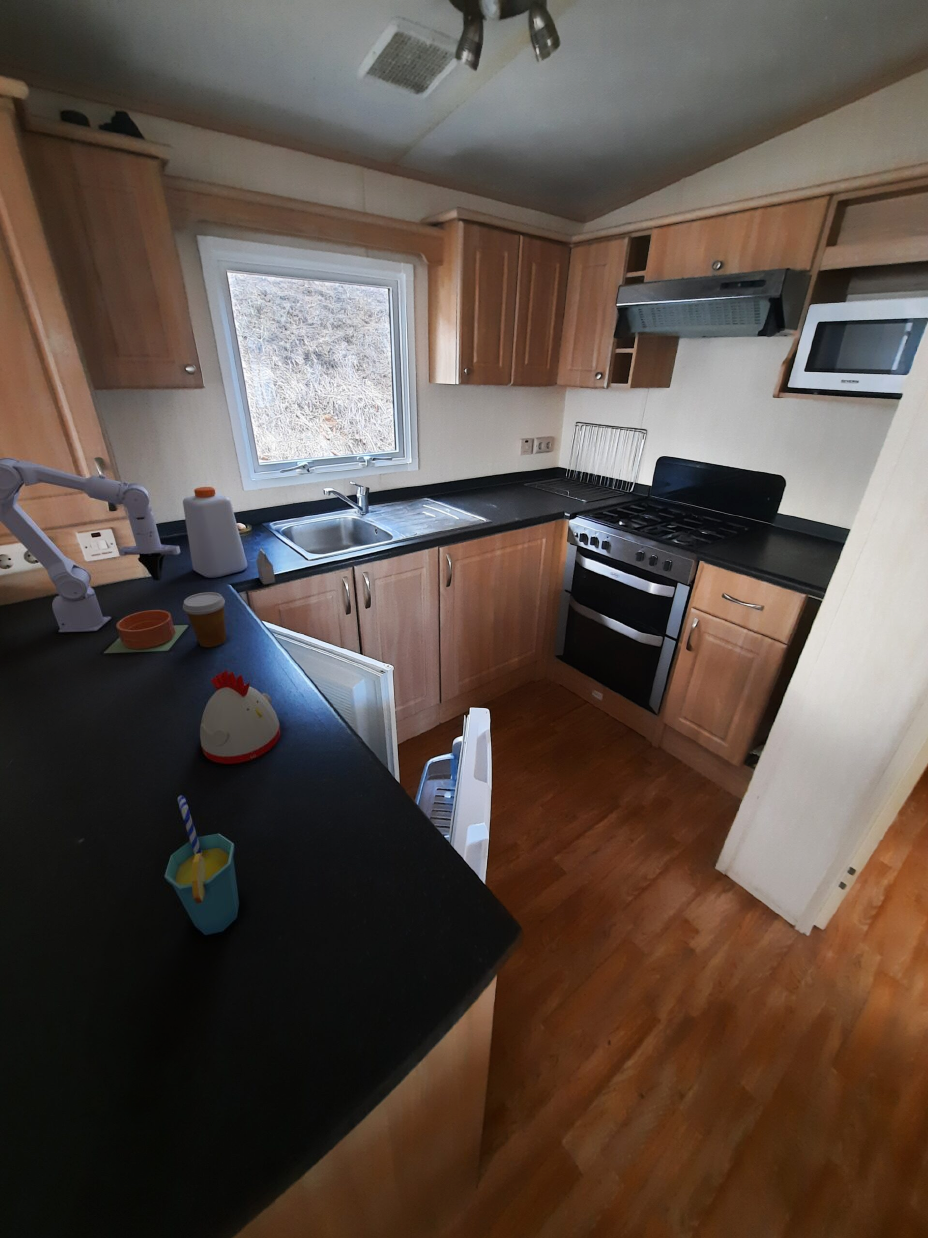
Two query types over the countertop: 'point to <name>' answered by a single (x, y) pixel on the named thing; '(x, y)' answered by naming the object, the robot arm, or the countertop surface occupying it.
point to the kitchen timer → (237, 722)
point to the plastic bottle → (213, 534)
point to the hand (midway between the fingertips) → (157, 579)
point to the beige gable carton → (265, 568)
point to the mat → (120, 648)
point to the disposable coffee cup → (207, 617)
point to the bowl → (146, 629)
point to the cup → (205, 878)
